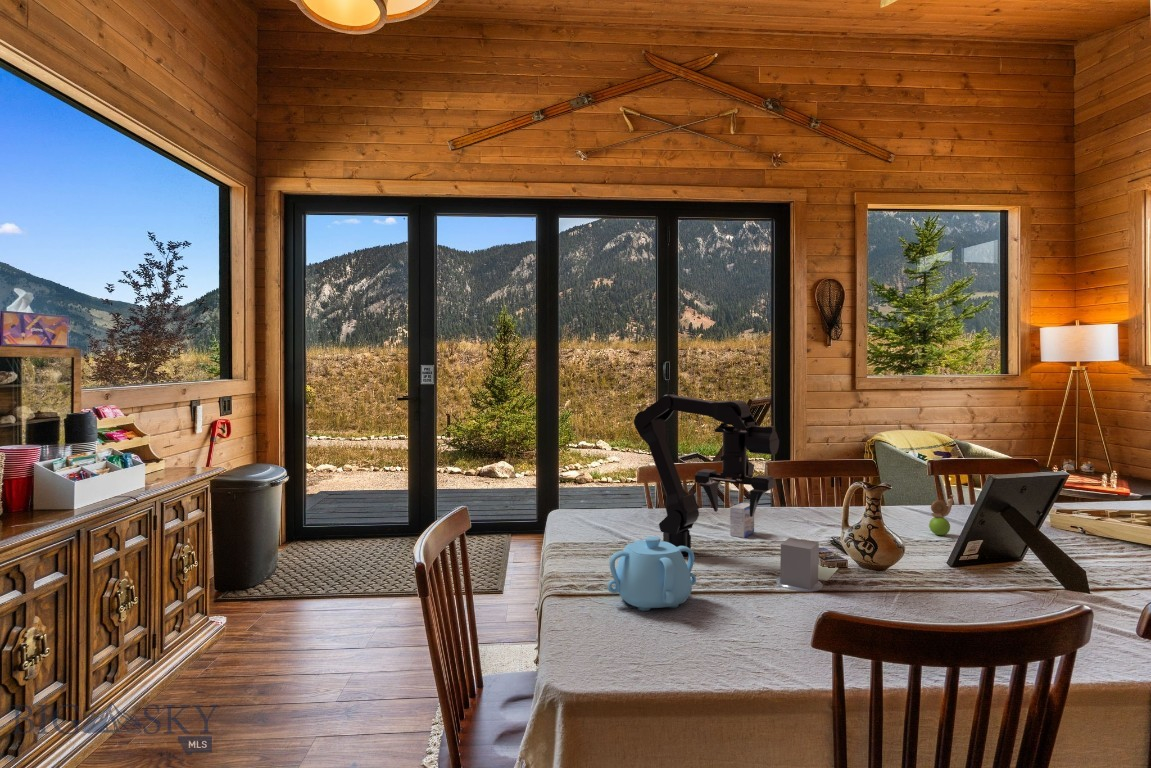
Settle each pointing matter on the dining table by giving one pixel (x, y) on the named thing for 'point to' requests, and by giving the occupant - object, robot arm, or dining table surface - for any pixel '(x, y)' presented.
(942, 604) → the dining table surface
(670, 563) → the decorative pot
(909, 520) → the dining table surface
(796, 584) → the grey block
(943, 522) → the snail figurine
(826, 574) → the mat
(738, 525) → the medicine box
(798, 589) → the knob on round base
